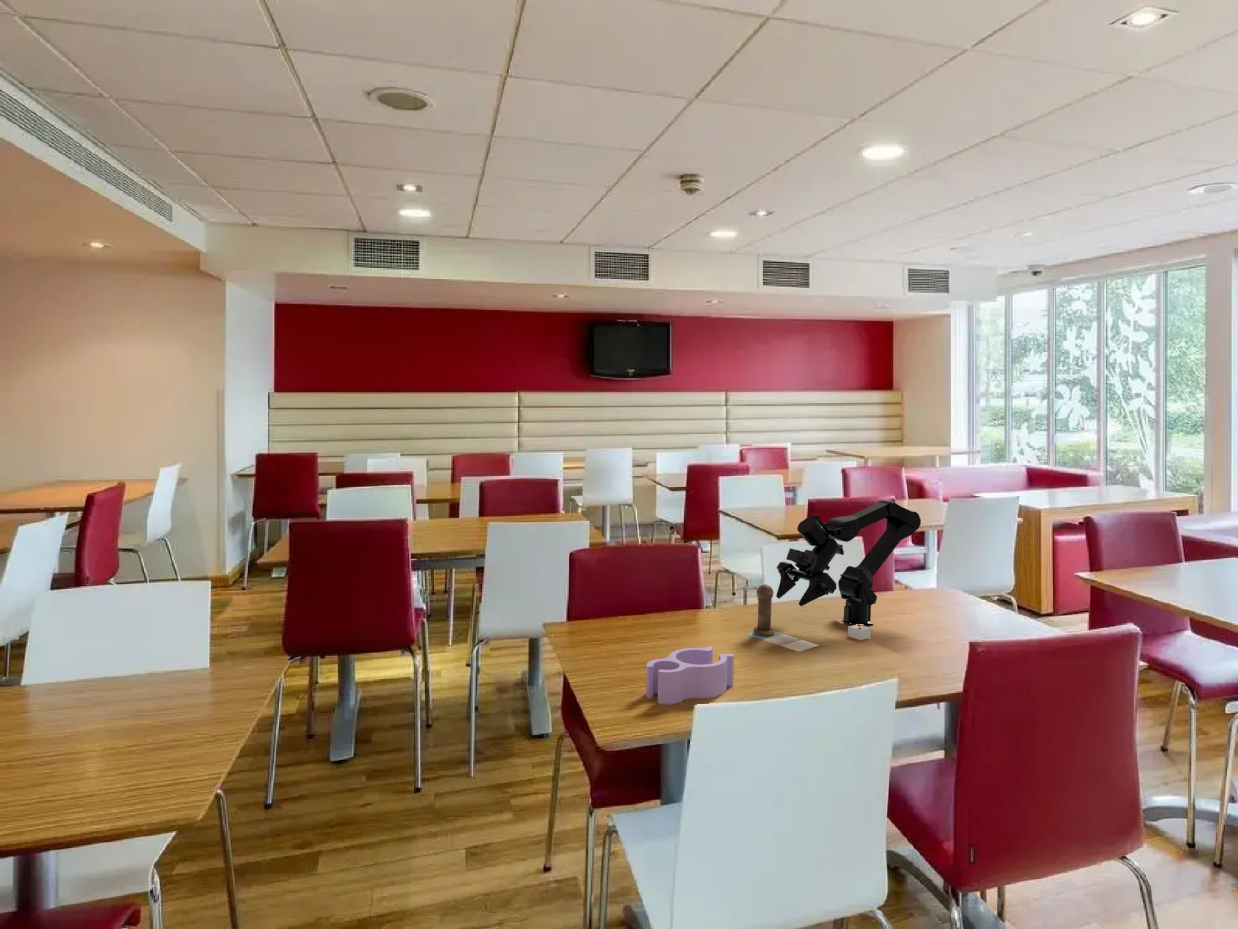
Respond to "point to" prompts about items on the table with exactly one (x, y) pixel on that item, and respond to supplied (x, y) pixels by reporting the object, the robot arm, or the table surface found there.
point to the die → (859, 632)
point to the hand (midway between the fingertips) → (788, 601)
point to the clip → (689, 675)
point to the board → (786, 641)
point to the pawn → (764, 611)
